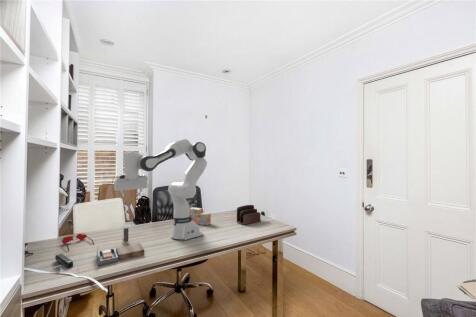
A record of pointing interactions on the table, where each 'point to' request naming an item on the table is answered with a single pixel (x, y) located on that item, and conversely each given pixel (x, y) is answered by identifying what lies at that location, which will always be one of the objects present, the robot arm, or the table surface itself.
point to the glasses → (79, 236)
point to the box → (106, 261)
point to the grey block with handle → (125, 236)
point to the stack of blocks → (200, 216)
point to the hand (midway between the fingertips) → (131, 196)
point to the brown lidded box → (247, 214)
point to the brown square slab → (129, 251)
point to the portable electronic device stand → (64, 260)
